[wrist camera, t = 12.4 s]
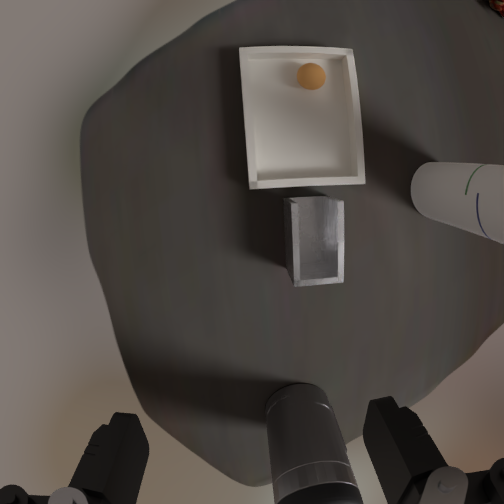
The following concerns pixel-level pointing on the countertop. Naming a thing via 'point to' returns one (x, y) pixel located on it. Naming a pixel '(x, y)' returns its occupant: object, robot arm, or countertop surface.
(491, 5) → the dragon fruit
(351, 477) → the robot arm
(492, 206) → the cylindrical container
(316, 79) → the ball
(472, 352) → the countertop surface
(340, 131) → the tray
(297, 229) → the scoop
